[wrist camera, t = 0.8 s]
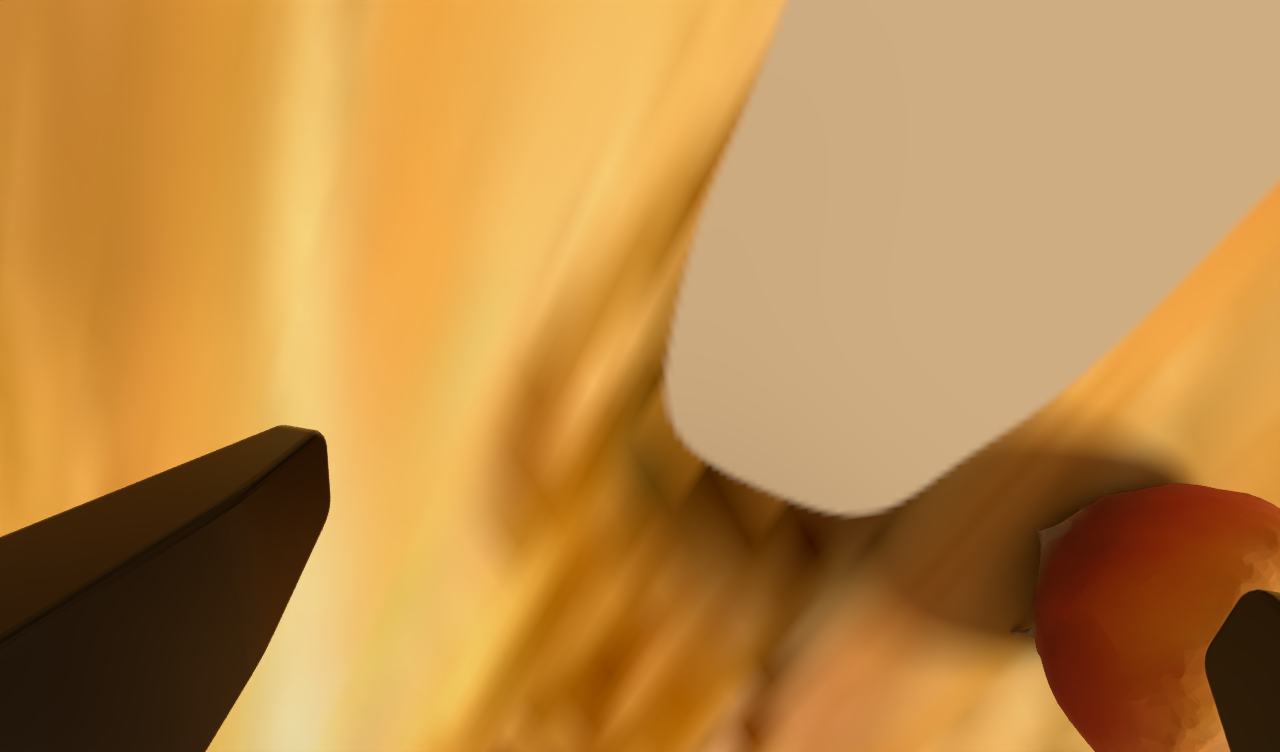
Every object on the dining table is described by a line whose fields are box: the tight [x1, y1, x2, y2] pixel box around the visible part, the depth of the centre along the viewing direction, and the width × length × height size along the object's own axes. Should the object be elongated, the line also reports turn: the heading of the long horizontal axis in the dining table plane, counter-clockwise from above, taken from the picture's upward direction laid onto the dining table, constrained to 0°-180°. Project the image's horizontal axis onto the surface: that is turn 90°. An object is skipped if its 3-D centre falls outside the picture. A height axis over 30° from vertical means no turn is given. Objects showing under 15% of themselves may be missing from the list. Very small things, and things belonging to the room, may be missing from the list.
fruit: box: [1011, 484, 1280, 752], centre depth 23 cm, size 8×8×8 cm
